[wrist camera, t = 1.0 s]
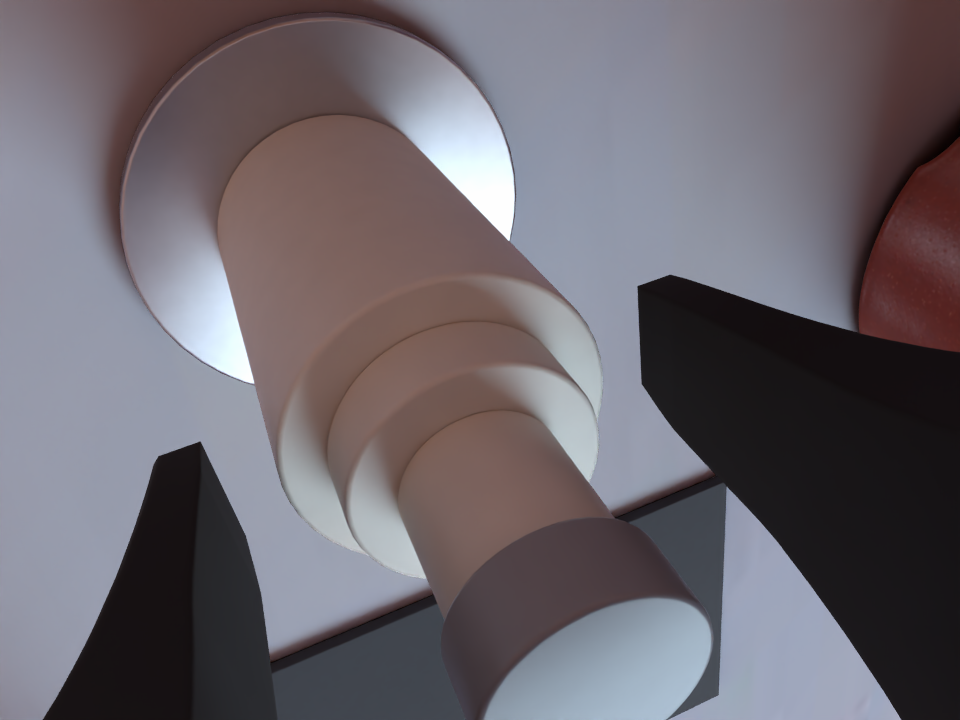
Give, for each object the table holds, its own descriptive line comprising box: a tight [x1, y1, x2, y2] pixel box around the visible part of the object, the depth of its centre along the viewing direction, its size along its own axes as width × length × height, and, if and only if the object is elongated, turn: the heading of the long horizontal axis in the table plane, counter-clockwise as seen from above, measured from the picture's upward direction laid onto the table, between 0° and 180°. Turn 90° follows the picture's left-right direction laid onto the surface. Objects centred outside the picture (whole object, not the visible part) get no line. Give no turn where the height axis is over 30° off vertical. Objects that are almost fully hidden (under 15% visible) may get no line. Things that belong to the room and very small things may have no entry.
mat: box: [271, 476, 727, 720], centre depth 32 cm, size 20×14×1 cm
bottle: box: [217, 115, 713, 720], centre depth 14 cm, size 5×5×13 cm
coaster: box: [119, 12, 516, 385], centre depth 19 cm, size 9×9×1 cm
